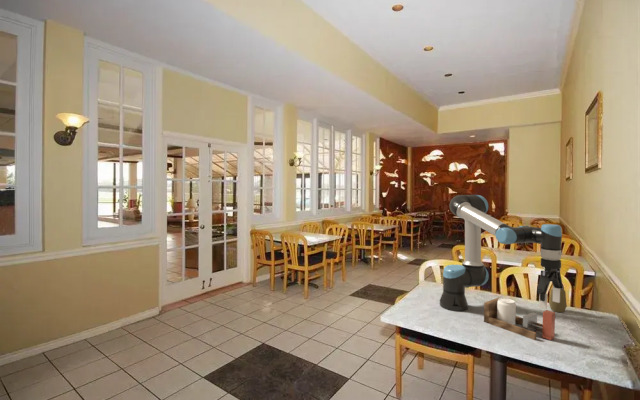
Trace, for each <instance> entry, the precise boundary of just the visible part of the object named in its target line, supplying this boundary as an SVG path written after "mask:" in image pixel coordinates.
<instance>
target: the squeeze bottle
mask: <svg viewBox="0 0 640 400" xmlns="http://www.w3.org/2000/svg"><path fill="white" fill-rule="evenodd" d="M553 287H554V286H553V285H552V288H551V289H550V292H549V293H550V294H549V300H548V301H549V302H548V304H549V308H550V311H552V312H555V313H565V311H566V308H567V306H568V305H567V296H566V295H567V294H566V290H565V289H564V287H563V288H562V289H561V288H560V303H558V302H554V301H553ZM554 288H555V287H554Z"/></svg>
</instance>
